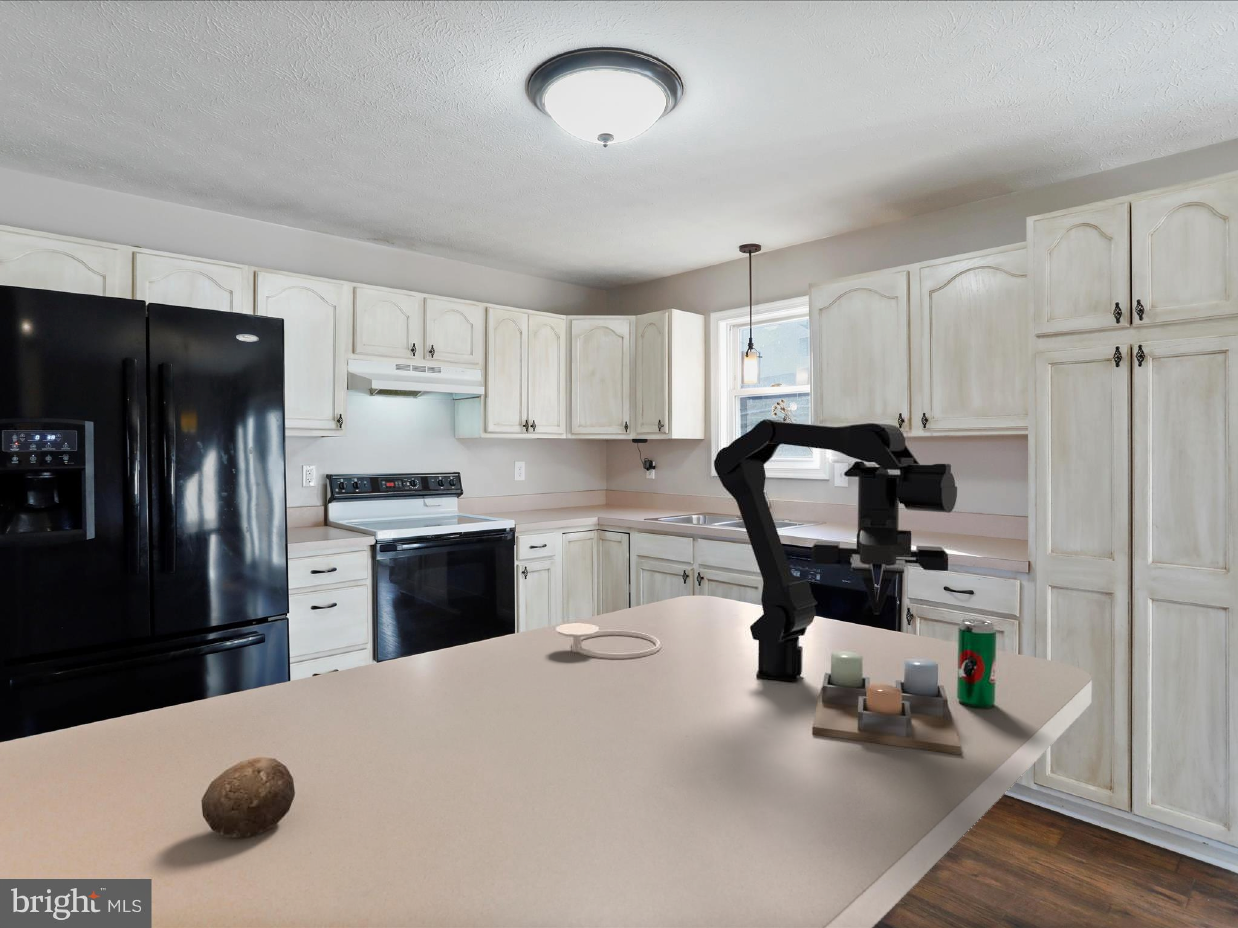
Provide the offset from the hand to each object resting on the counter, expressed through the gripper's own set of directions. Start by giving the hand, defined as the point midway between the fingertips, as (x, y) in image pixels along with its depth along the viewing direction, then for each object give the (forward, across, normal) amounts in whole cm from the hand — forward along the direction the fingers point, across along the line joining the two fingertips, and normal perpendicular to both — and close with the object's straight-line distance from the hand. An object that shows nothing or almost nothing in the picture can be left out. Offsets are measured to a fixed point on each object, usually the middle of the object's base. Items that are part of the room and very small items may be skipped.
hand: (876, 613), depth 106 cm
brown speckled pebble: (+13, -58, -59) cm, 84 cm away
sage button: (+10, -4, -4) cm, 11 cm away
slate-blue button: (+10, +6, -3) cm, 12 cm away
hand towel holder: (+14, -47, +12) cm, 51 cm away
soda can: (+13, +14, +4) cm, 20 cm away
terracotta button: (+11, +1, -13) cm, 17 cm away
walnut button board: (+13, +1, -8) cm, 15 cm away
